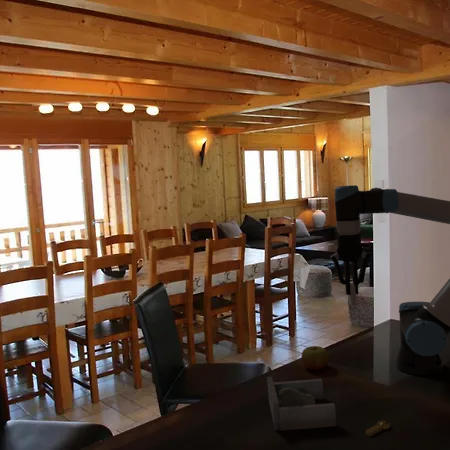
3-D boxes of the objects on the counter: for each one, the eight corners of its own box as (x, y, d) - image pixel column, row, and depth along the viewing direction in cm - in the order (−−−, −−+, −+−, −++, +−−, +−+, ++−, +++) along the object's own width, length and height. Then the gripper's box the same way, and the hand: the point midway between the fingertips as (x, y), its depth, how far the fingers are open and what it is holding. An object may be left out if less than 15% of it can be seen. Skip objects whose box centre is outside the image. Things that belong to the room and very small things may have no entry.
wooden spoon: (382, 423, 142) (382, 419, 142) (392, 427, 139) (391, 423, 139) (363, 433, 137) (363, 429, 137) (373, 438, 135) (372, 433, 135)
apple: (329, 362, 189) (328, 341, 189) (330, 373, 180) (328, 350, 179) (302, 363, 191) (301, 342, 190) (301, 373, 182) (300, 351, 181)
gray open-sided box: (322, 397, 161) (321, 372, 160) (336, 426, 142) (334, 398, 141) (268, 401, 161) (267, 376, 160) (275, 431, 142) (273, 403, 141)
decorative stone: (293, 431, 141) (311, 399, 142) (264, 408, 148) (281, 378, 149) (310, 434, 151) (327, 404, 152) (281, 412, 158) (298, 384, 159)
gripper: (365, 230, 170) (369, 300, 172) (326, 233, 170) (330, 303, 172) (372, 232, 162) (376, 305, 164) (331, 236, 162) (335, 308, 164)
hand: (352, 304), depth 168 cm, fingers closed
